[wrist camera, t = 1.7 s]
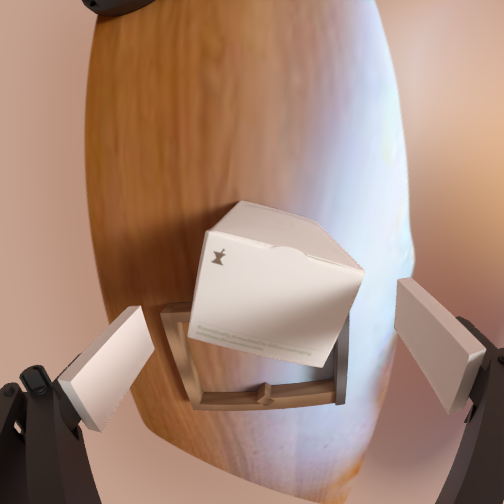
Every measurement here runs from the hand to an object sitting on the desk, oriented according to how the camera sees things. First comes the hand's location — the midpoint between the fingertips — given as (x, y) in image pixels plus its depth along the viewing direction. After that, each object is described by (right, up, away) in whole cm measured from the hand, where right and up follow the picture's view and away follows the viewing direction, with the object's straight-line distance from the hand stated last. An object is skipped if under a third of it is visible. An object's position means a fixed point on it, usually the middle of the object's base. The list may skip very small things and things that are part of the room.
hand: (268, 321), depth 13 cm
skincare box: (+1, +5, +16) cm, 16 cm away
